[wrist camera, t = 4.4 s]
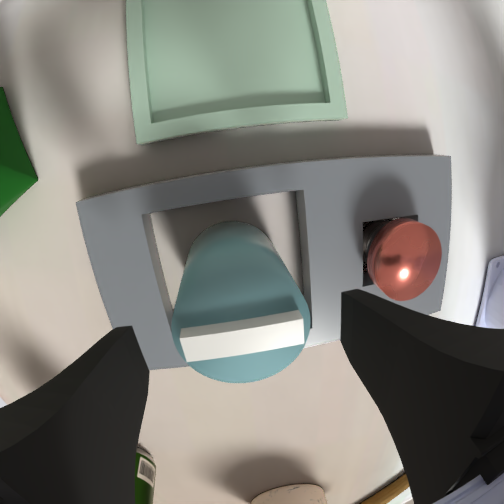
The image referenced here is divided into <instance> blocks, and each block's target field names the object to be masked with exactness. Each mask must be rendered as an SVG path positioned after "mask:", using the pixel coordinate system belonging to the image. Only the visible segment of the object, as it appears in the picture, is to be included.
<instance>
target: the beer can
mask: <svg viewBox="0 0 504 504" xmlns="http://www.w3.org/2000/svg"><path fill="white" fill-rule="evenodd" d="M155 475H156V465H155V463H154V460H153V458H152V457H151V455H149V454H148V453H147V452H146V451H144V450H142V449H140V448H138V447H137V450H136V459H135V504H153V495H154V484H155Z"/></svg>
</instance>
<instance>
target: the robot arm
mask: <svg viewBox="0 0 504 504" xmlns="http://www.w3.org/2000/svg"><path fill="white" fill-rule="evenodd" d="M340 341H341V343H342V346H343V348H344V350H345V353H346V355H347V357H348V359H349V361H350V363H351V365H352V367H353V368H354V370H355V371H356V373H357V375H358V376H359V378H360V379H361V381H362V383H363V384H364V386H365V387H366V389H367V390H368V392H369V394H370V395H371V397H372V398H373V400H374V402H375V403H376V405H377V406H378V408H379V410H380V412H381V414H382V416H383V418H384V420H385V422H386V424H387V427H388V429H389V431H390V433H391V436H392V438H393V440H394V443H395V445H396V448H397V451H398V453H399V456H400V458H401V461H402V464H403V467H404V470H405V473H406V476H407V479H408V482H409V486H410V490H411V493H412V497H413V500H414V504H504V255H503V256H500V257H497V258H494V259H492V260H491V261H490V262H489V265H488V271H487V277H486V282H485V288H484V293H483V297H482V302H481V306H480V311H479V315H478V319H477V322H476V326H470V325H464V324H459V323H455V322H451V321H446V320H442V319H439V318H435V317H432V316H429V315H426V314H423V313H420V312H417V311H414V310H411V309H409V308H406V307H403V306H401V305H398V304H396V303H393V302H391V301H389V300H386V299H384V298H381V297H379V296H376V295H374V294H371V293H369V292H366V291H363V290H360V289H354V290H349V291H344V292H341V334H340ZM148 385H149V369H148V366H147V364H146V361H145V359H144V356H143V354H142V351H141V349H140V346H139V343H138V341H137V338H136V335H135V333H134V330H133V327H132V326H123V327H116V328H114V329H113V330H111V331H110V332H109V333H107V334H106V335H105V336H104V337H103V338H101V339H100V340H99V341H98V342H97V343H96V344H94V345H93V346H92V347H91V348H90V349H89V350H87V351H86V352H85V353H84V354H83V355H82V356H81V357H79V358H78V359H77V360H76V361H74V362H73V363H72V364H71V365H69V366H68V367H67V368H66V369H64V370H63V371H62V372H61V373H60V374H58V375H57V376H56V377H54V378H53V379H51V380H50V381H49V382H47V383H45V384H44V385H42V386H41V387H39V388H38V389H36V390H35V391H33V392H31V393H29V394H28V395H26V396H24V397H22V398H20V399H18V400H16V401H15V402H13V403H11V404H9V405H6V406H4V407H2V408H0V504H135V459H136V450H137V444H138V439H139V434H140V429H141V424H142V419H143V415H144V410H145V405H146V401H147V396H148Z"/></svg>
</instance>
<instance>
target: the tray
mask: <svg viewBox="0 0 504 504" xmlns="http://www.w3.org/2000/svg"><path fill="white" fill-rule="evenodd" d="M126 31H127V52H128V68H129V80H130V91H131V101H132V111H133V119H134V127H135V135H136V142H137V144H141V145H144V144H148V143H153V142H158V141H163V140H168V139H173V138H178V137H183V136H189V135H195V134H201V133H207V132H213V131H220V130H227V129H235V128H243V127H251V126H260V125H270V124H282V123H295V122H311V121H336V120H343V119H347V118H348V116H347V109H346V101H345V94H344V88H343V81H342V75H341V69H340V64H339V58H338V53H337V48H336V43H335V38H334V33H333V28H332V24H331V20H330V15H329V11H328V7H327V3H326V0H126Z"/></svg>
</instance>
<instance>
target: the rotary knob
mask: <svg viewBox="0 0 504 504" xmlns="http://www.w3.org/2000/svg"><path fill="white" fill-rule="evenodd" d="M310 321H311V320H310V312H309V308H308V305H307V303H306V301H305V298H304V297H303V295H302V293H301V291H300V290H299V288H298V286H297V285H296V283H295V281H294V280H293V278H292V276H291V274H290V273H289V271H288V269H287V268H286V266H285V264H284V263H283V261H282V259H281V258H280V256H279V254H278V253H277V251H276V249H275V248H274V246H273V244H272V243H271V241H270V240H269V238H268V237H267V236H266V235H265V234H264V233H263V232H262V231H261V230H259V229H258V228H256V227H254V226H252V225H250V224H247V223H244V222H238V221H229V222H222V223H218V224H216V225H213V226H211V227H209V228H208V229H206V230H205V231H203V232H202V233H201V234H200V235H199V236H198V237H197V238H196V240H195V241H194V243H193V244H192V246H191V248H190V251H189V254H188V258H187V261H186V265H185V269H184V273H183V277H182V280H181V284H180V288H179V292H178V296H177V300H176V304H175V308H174V312H173V317H172V324H171V329H172V337H173V341H174V344H175V346H176V349H177V351H178V352H179V354H180V356H181V357H182V358H183V359H184V361H185V362H186V363H187V364H188V365H189V366H190V367H192V368H193V369H194V370H196V371H197V372H199V373H201V374H202V375H204V376H207V377H209V378H211V379H214V380H218V381H222V382H228V383H247V382H254V381H258V380H262V379H265V378H268V377H270V376H272V375H275V374H276V373H278V372H280V371H282V370H283V369H284V368H286V367H287V366H288V365H289V364H291V363H292V362H293V361H294V360H295V359H296V357H297V356H298V355H299V354H300V352H301V351H302V349H303V348H304V346H305V344H306V342H307V339H308V336H309V331H310Z"/></svg>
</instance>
